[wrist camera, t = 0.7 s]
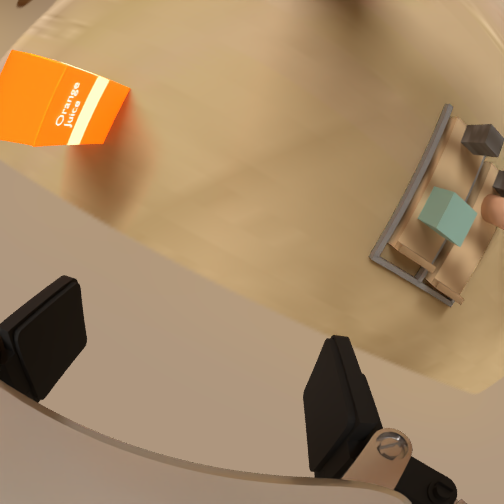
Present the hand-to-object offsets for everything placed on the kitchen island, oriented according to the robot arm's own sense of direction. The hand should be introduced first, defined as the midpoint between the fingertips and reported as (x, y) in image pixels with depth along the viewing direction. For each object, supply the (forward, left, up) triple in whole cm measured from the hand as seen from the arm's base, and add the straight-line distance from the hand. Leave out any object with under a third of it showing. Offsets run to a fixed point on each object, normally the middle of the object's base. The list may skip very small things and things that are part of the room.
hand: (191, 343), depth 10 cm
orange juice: (-4, -26, -29) cm, 39 cm away
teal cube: (-12, +23, -26) cm, 36 cm away
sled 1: (-15, +23, -29) cm, 39 cm away
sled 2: (-13, +32, -29) cm, 45 cm away
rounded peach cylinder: (-18, +32, -26) cm, 45 cm away
